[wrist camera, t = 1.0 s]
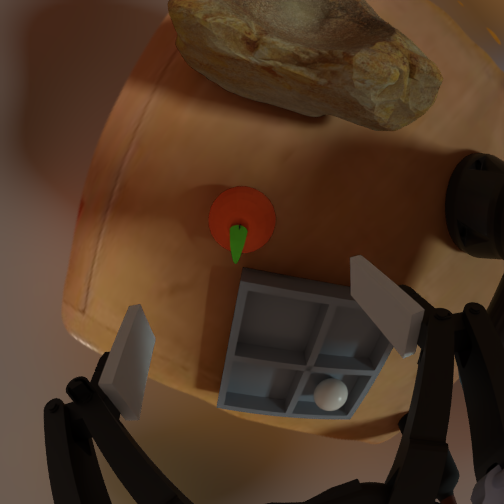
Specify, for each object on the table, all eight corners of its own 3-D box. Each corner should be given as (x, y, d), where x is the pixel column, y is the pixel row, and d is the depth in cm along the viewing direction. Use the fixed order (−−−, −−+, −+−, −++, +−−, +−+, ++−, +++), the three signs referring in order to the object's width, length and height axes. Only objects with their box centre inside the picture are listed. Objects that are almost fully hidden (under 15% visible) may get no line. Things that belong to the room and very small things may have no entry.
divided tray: (399, 295, 35) (411, 308, 31) (345, 402, 42) (350, 419, 38) (242, 267, 34) (240, 280, 30) (219, 389, 41) (216, 407, 37)
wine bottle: (424, 401, 43) (474, 513, 14) (431, 414, 44) (475, 514, 16) (394, 421, 44) (432, 536, 16) (403, 431, 46) (438, 534, 18)
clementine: (268, 254, 34) (269, 278, 27) (211, 246, 34) (198, 268, 27) (278, 187, 31) (283, 195, 24) (217, 180, 31) (205, 185, 24)
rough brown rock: (404, 55, 25) (466, 7, 11) (369, 158, 29) (445, 143, 14) (240, -11, 24) (229, -86, 9) (183, 82, 27) (131, 21, 13)
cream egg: (348, 372, 38) (356, 395, 33) (336, 394, 40) (342, 417, 35) (317, 369, 38) (323, 394, 33) (307, 392, 40) (310, 417, 35)
